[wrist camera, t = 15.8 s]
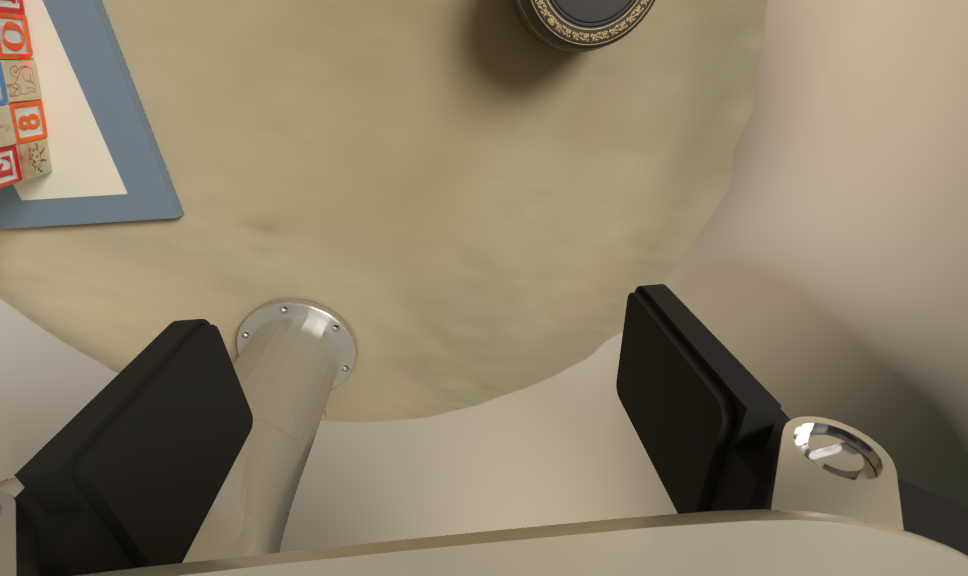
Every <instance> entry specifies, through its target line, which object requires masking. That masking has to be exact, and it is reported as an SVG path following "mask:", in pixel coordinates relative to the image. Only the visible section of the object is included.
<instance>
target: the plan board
mask: <svg viewBox="0 0 968 576" xmlns="http://www.w3.org/2000/svg"><path fill="white" fill-rule="evenodd" d="M23 5H24V10H25V12H24V14H25V15H26V17H27V23H28V29H29V35H30V42H31V48H32V51H33V58H34V60H35V62H36V66H37V72H38V78H39V84H40V90H41V101H42V104H43V110H44V116H45V122H46V128H47V135H48V137H47V141H48V147H49V153H50V160H51V166H52V172H51V173H48V174H45V175H42V176H38V177H35V178H32V179H29V180H25V181H22V180H21V181H20V182H17V183H14V184H11V185H8V186H5V187H2V188H0V229H14V228H29V227H45V226H61V225H76V224H92V223H107V222H123V221H139V220H154V219H170V218H179V217H181V216H182V215H184V213H183V210H182V208H181V205H180V202H179V200H178V197H177V195H176V192H175V190H174V187H173V184H172V182H171V179H170V177H169V174H168V171H167V169H166V166H165V164H164V161H163V158H162V156H161V153H160V151H159V148H158V146H157V143H156V140H155V138H154V135H153V133H152V130H151V127H150V125H149V122H148V120H147V117H146V114H145V112H144V109H143V107H142V104H141V102H140V99H139V96H138V94H137V91H136V89H135V86H134V83H133V81H132V78H131V76H130V73H129V71H128V68H127V65H126V63H125V60H124V58H123V55H122V52H121V50H120V47H119V45H118V42H117V39H116V37H115V34H114V32H113V29H112V27H111V24H110V21H109V19H108V16H107V14H106V11H105V8H104V6H103V3H102V1H101V0H23Z"/></svg>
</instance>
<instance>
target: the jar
mask: <svg viewBox="0 0 968 576" xmlns="http://www.w3.org/2000/svg"><path fill="white" fill-rule="evenodd" d="M654 2H655V0H513V3H514V6H515V9H516V12H517V14H518V16H519V18H520V20H521V22H522V24H523V25H524V27H525V28H526V29H527V30H528V32H529V33H530V34H531V35H532V36H533V37H534V38H536V39H537V40H538V41H540V42H541V43H543V44H545V45H547V46H549V47H552V48H555V49H559V50H567V51H574V52H585V51H591V50H596V49H599V48H602V47H605V46H607V45H610V44H612V43H614V42H616V41H618V40H620V39H621V38H623V37H624V36H626V35H627V34H628V33H629V32H631V31H632V30H633V29H634V28H635V27H636V26H637V25H638V24H639V23H640V22H641V21H642V20H643V18H644V17H645V16H646V14H647V13H648V12H649V10H650V9H651V7H652V5H653V4H654Z"/></svg>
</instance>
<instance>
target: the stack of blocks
mask: <svg viewBox="0 0 968 576" xmlns="http://www.w3.org/2000/svg"><path fill="white" fill-rule="evenodd" d="M24 12H25V10H24V5H23V0H0V188H2V187H5V186H8V185H11V184H14V183H17V182H20V181H21V180H22V181H25V180H29V179H32V178H35V177H38V176H42V175H45V174H48V173H51V172H52V166H51V160H50V153H49V147H48V141H47V137H48V135H47V128H46V122H45V116H44V110H43V104H42V101H41V90H40V84H39V78H38V72H37V66H36V62H35V60H34V58H33V51H32V48H31V42H30V35H29V29H28V23H27V17H26V15H25V14H24Z"/></svg>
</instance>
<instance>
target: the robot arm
mask: <svg viewBox="0 0 968 576" xmlns="http://www.w3.org/2000/svg"><path fill="white" fill-rule="evenodd" d="M237 350H238V354H239V357H238V358H237V360H236V361H235V363H234V364H232V362H231V359H230V357H229V354H228V352H227V349H226V347H225V344H224V342H223V339H222V337H221V334H220V332H219V330H218V328H217V327H216V326H215V325H210V323H209V322H208V321H207V320H205V319H195V320H181V321H174V322H172V323H171V324H170V325H169V326H168V327H167V328H166V329H165V330H164V331H163V332H161V333H160V334H159V335H158V336H157V337H156V338H155V339H154V340H153V341H152V342H151V343H150V344H149V345H148V346H147V347H146V348H145V349H144V350H143V351H142V352H141V353H140V354H139V355H138V356H137V357H136V358H135V359H134V360H133V361H132V362H131V363H130V364H129V365H127V366H126V367H125V368H124V369H123V370H122V371H121V372H120V373H119V374H118V375H117V376H116V377H115V378H114V379H113V380H112V381H111V382H110V383H109V384H108V385H107V386H106V387H105V388H104V389H103V390H102V391H101V392H100V393H99V394H98V395H97V396H96V397H95V398H94V399H92V400H91V401H90V402H89V403H88V404H87V405H86V406H85V407H84V408H83V409H82V410H81V411H80V412H79V413H78V414H77V415H76V416H75V417H74V418H73V419H72V420H71V421H70V422H69V423H68V424H67V425H66V426H65V427H64V428H63V429H62V430H61V431H60V432H59V433H57V434H56V435H55V436H54V437H53V438H52V439H51V440H50V441H49V442H48V443H47V444H46V445H45V446H44V447H43V448H42V449H41V450H40V451H39V452H38V453H37V454H36V455H35V456H34V457H33V458H32V459H31V460H30V461H29V462H28V463H27V464H26V465H25V466H23V468H21V470H20V471H18V472H17V473H16V474H15V476H16V478H11V479H6V480H3V481H0V576H968V507H966V506H964V505H961V504H959V503H957V502H954V501H952V500H949V499H947V498H944V497H942V496H939V495H937V494H935V493H932V492H930V491H927V490H925V489H922V488H920V487H917V486H915V485H913V484H910V483H907V482H905V481H903V480H900V479H898V478H897V472H896V469H895V466H894V463H893V461H892V459H891V458H890V457H889V455H888V454H887V453H886V452H885V450H884V449H883V448H882V447H881V446H879V445H878V444H877V443H876V442H875V441H873V440H872V439H871V438H869V437H868V436H866V435H865V434H863V433H861V432H860V431H858V430H856V429H854V428H852V427H850V426H847V425H845V424H843V423H840V422H838V421H834V420H830V419H826V418H822V417H811V416H805V417H798V418H794V419H792V420H790V419H789V418H788V417H787V416H786V414H785V413H784V412H783V411H782V410H781V409H780V408H781V405H780V404H779V403H778V402H777V400H776V399H775V398H774V397H773V396H772V395H771V394H770V393H769V392H768V391H767V390H766V389H765V388H764V387H763V386H762V385H761V384H760V383H759V382H758V381H757V380H756V379H755V378H754V377H753V376H752V374H751V373H750V372H749V371H748V370H747V369H745V367H744V366H743V365H742V364H741V363H740V362H739V361H738V360H737V359H736V358H735V357H734V356H733V355H732V354H731V353H730V352H729V351H728V350H727V349H726V348H725V346H724V345H723V344H722V343H721V342H720V341H719V340H718V339H717V338H716V337H715V336H714V335H713V334H712V333H711V332H710V331H709V330H708V329H707V328H706V327H705V326H704V325H703V324H702V323H701V322H700V320H699V319H697V318H696V316H695V315H694V314H693V313H692V312H690V310H689V309H688V308H687V307H686V306H685V305H684V304H683V303H682V302H681V301H680V300H679V299H678V298H677V297H676V296H675V294H674V293H672V291H671V290H670V289H669V288H668V287H667V286H666V285H664V284H659V285H646V286H638V287H637V288H636V290H635V292H634V293H630V294H629V296H628V300H627V307H626V315H625V322H624V330H623V337H622V345H621V353H620V360H619V367H618V375H617V392H618V396H619V399H620V400H621V403H622V404H623V406H624V408H625V410H626V412H627V414H628V416H629V418H630V420H631V422H632V424H633V426H634V428H635V430H636V432H637V434H638V436H639V438H640V440H641V442H642V444H643V446H644V448H645V449H646V452H647V454H648V456H649V457H650V460H651V462H652V463H653V465H654V467H655V469H656V471H657V473H658V475H659V477H660V479H661V481H662V483H663V485H664V487H665V489H666V491H667V493H668V495H669V497H670V499H671V501H672V503H673V505H674V507H675V509H676V511H677V513H678V514H671V515H659V516H647V517H633V518H621V519H611V520H601V521H590V522H580V523H570V524H559V525H548V526H539V527H528V528H517V529H507V530H497V531H486V532H477V533H466V534H456V535H446V536H437V537H427V538H417V539H407V540H397V541H387V542H377V543H368V544H358V545H348V546H339V547H329V548H320V549H309V550H299V551H290V552H281V553H280V548H281V544H282V539H283V535H284V531H285V527H286V523H287V520H288V516H289V513H290V509H291V506H292V503H293V500H294V497H295V494H296V490H297V488H298V485H299V481H300V479H301V476H302V473H303V470H304V467H305V465H306V462H307V459H308V455H309V453H310V450H311V447H312V444H313V441H314V438H315V435H316V433H317V429H318V427H319V424H320V421H321V420H323V419H325V418H326V416H327V413H326V410H325V406H326V403H327V401H328V398H329V395H330V392H331V390H332V389H334V388H336V387H337V386H339V385H341V384H342V383H343V382H344V381H345V380H346V379H347V378H348V376H349V375H350V374H351V372H352V370H353V367H354V365H355V361H356V357H357V346H356V342H355V338H354V336H353V334H352V332H351V330H350V328H349V327H348V326H347V324H346V323H345V322H344V321H343V320H342V319H341V318H340V317H339V316H338V315H336V314H335V313H333V312H332V311H330V310H329V309H327V308H325V307H323V306H321V305H319V304H316V303H312V302H309V301H305V300H297V299H282V300H277V301H272V302H269V303H267V304H264V305H262V306H260V307H259V308H257V309H256V310H254V311H253V312H252V313H251V314H250V315H249V316H248V317H247V318H246V319H245V321H244V322H243V324H242V325H241V327H240V329H239V332H238V335H237Z"/></svg>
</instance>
